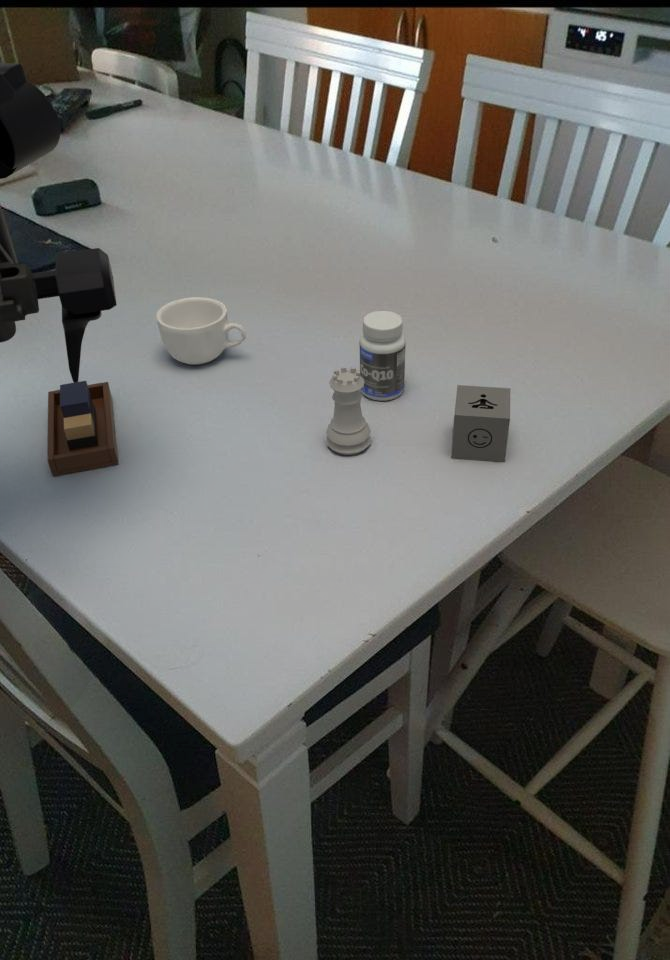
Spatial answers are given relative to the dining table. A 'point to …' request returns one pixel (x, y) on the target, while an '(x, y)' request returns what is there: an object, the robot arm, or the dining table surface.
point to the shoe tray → (87, 457)
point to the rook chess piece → (347, 414)
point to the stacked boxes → (78, 415)
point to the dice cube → (481, 423)
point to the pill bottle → (382, 356)
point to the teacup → (196, 329)
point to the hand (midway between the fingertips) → (18, 389)
